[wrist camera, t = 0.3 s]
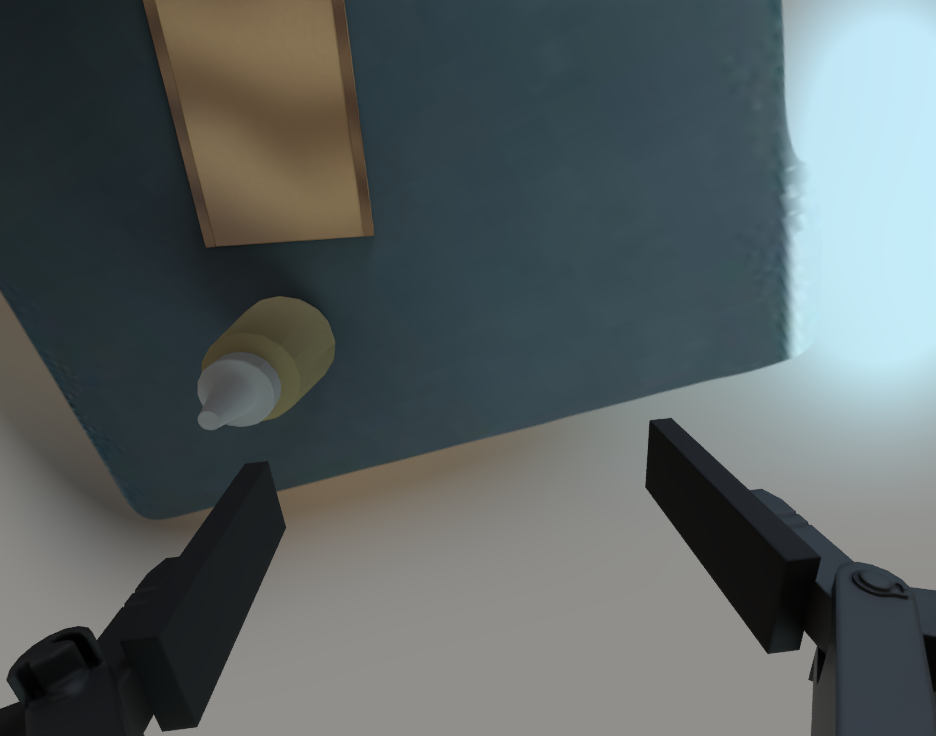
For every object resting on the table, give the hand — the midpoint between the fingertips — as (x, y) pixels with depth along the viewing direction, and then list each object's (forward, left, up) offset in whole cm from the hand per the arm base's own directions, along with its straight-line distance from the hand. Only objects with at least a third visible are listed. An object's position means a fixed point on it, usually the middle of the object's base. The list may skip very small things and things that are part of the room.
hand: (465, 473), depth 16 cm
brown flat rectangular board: (-16, -13, -28) cm, 35 cm away
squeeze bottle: (+2, -14, -28) cm, 31 cm away
